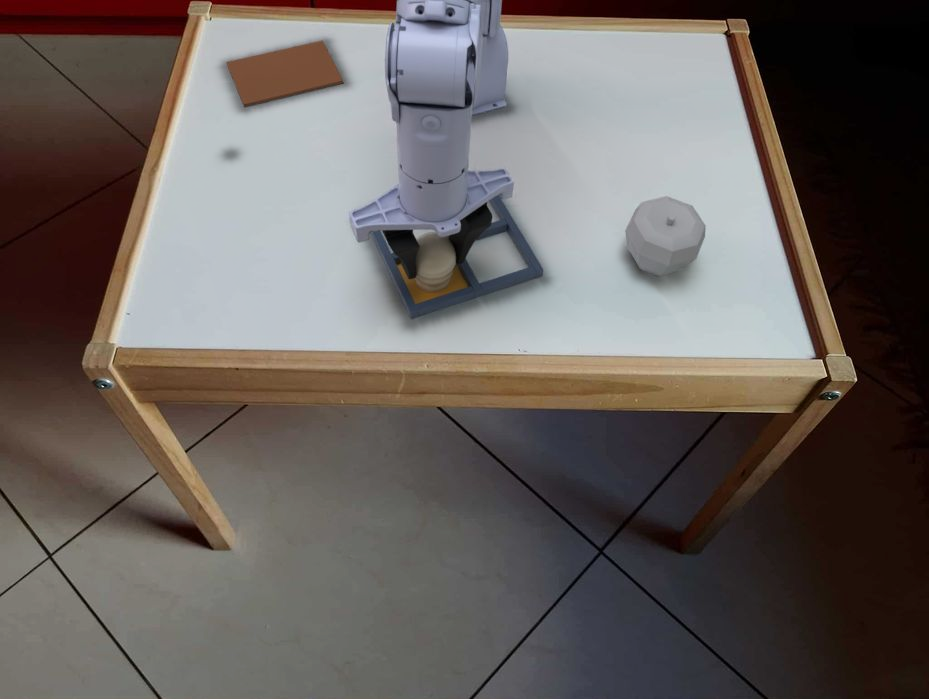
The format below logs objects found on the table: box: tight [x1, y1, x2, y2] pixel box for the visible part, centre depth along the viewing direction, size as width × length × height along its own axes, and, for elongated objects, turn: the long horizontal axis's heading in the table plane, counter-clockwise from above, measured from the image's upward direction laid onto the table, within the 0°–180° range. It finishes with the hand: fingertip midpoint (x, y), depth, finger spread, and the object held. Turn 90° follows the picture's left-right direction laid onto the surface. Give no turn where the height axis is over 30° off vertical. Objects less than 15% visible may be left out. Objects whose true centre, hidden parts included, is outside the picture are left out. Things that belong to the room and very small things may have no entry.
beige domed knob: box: [414, 231, 456, 293], centre depth 71 cm, size 4×4×6 cm
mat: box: [226, 40, 344, 107], centre depth 90 cm, size 12×8×1 cm, turn 113°
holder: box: [370, 195, 544, 320], centre depth 76 cm, size 14×14×2 cm
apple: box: [624, 195, 707, 277], centre depth 74 cm, size 8×8×7 cm
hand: (432, 263), depth 72 cm, fingers closed on beige domed knob, 4 cm apart
